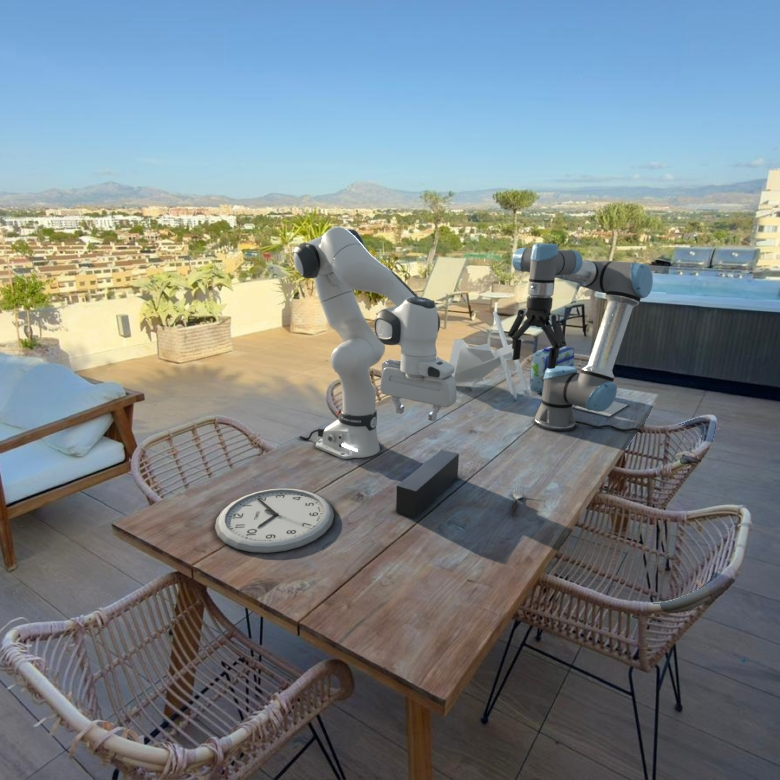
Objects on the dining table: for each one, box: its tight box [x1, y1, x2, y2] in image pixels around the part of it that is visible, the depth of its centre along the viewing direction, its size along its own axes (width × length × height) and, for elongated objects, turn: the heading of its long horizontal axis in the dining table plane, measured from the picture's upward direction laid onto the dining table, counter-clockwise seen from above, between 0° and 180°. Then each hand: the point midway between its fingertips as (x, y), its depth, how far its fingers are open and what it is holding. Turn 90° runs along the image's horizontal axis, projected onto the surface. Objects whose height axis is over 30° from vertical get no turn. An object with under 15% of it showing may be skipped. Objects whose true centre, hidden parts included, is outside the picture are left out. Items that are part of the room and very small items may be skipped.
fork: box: [511, 484, 525, 517], centre depth 145 cm, size 3×16×2 cm, turn 160°
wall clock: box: [214, 488, 335, 554], centre depth 135 cm, size 30×2×30 cm
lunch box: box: [529, 345, 575, 394], centre depth 245 cm, size 26×11×21 cm, turn 134°
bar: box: [395, 449, 460, 519], centre depth 149 cm, size 28×6×8 cm, turn 149°
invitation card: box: [573, 400, 629, 418], centre depth 226 cm, size 21×1×15 cm
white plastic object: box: [448, 310, 531, 400], centre depth 245 cm, size 37×45×31 cm
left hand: (415, 416), depth 134 cm, fingers open, 8 cm apart
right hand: (533, 363), depth 165 cm, fingers open, 13 cm apart
